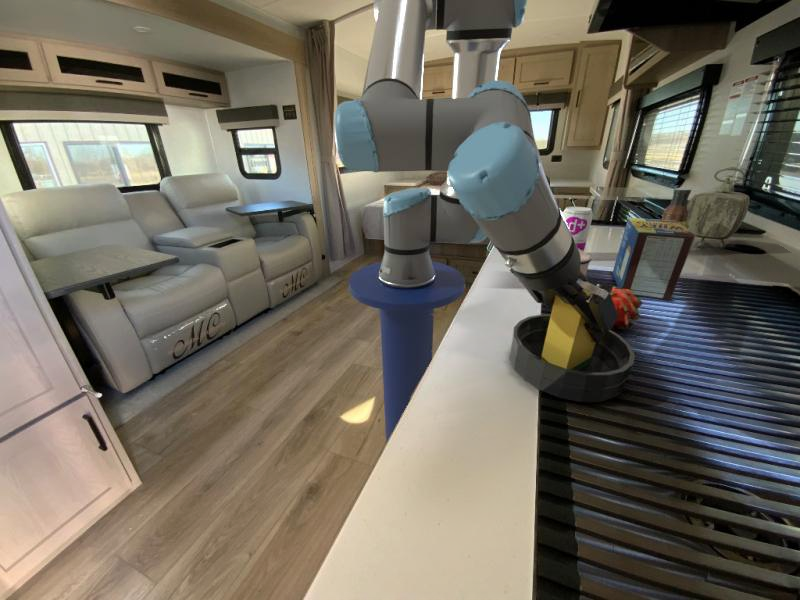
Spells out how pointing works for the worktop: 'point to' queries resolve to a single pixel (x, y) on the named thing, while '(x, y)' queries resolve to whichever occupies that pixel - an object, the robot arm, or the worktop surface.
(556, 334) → the sponge
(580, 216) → the supplement can
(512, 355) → the bowl
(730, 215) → the tabletop clock
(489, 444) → the worktop surface
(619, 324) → the dragon fruit
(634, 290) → the protein box
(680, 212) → the sauce bottle
